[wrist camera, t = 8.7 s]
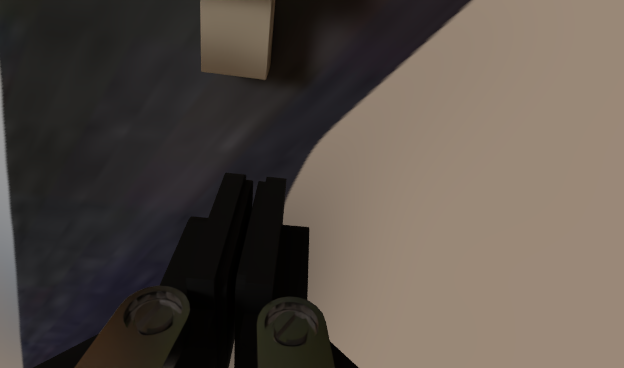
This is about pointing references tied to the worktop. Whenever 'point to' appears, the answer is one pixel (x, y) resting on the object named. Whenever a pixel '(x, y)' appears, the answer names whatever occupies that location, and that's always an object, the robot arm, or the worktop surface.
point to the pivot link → (237, 37)
